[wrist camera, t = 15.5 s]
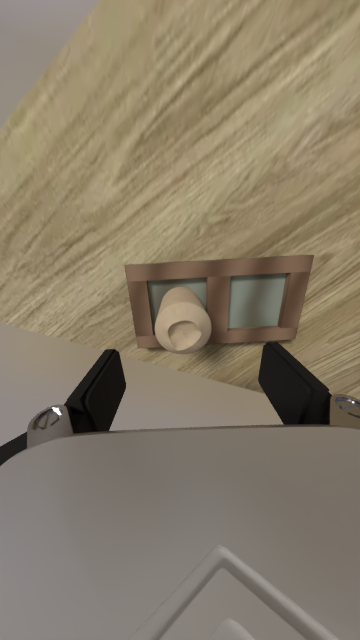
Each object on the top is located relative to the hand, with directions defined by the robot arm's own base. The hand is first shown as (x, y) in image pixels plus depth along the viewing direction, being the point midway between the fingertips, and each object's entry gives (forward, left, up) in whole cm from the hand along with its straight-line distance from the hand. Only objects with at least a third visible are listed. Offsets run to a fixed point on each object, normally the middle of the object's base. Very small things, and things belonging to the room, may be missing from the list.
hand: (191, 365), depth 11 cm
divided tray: (-5, 0, -15) cm, 16 cm away
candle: (0, 0, -14) cm, 14 cm away
